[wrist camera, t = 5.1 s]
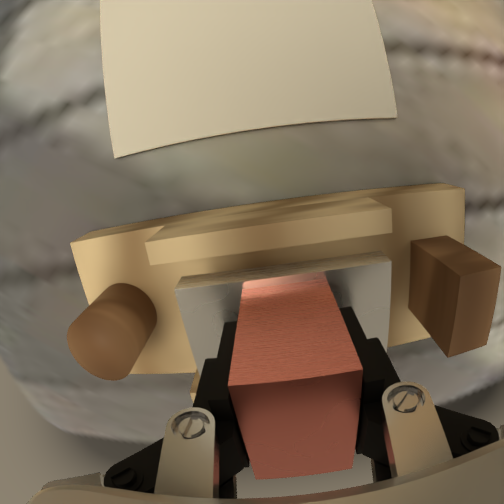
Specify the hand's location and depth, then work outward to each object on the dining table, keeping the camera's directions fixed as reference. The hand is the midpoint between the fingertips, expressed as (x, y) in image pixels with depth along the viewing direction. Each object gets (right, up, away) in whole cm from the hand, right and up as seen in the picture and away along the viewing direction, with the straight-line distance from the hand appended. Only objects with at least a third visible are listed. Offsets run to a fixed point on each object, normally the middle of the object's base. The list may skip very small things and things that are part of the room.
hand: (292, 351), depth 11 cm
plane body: (0, +2, +8) cm, 8 cm away
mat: (-2, +15, +4) cm, 16 cm away
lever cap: (0, +1, +2) cm, 2 cm away
